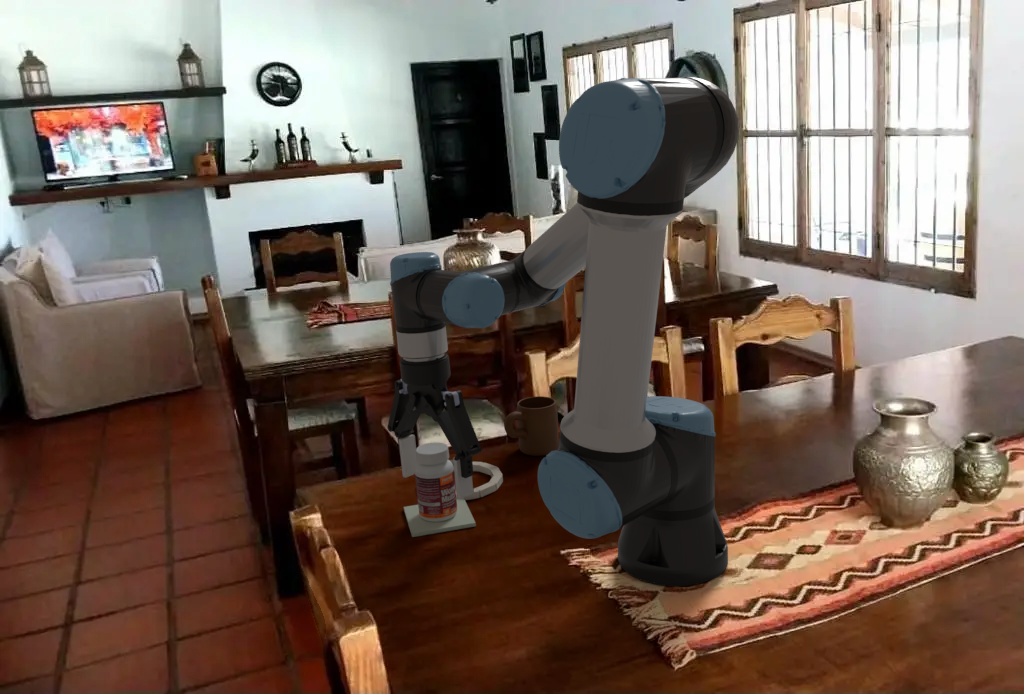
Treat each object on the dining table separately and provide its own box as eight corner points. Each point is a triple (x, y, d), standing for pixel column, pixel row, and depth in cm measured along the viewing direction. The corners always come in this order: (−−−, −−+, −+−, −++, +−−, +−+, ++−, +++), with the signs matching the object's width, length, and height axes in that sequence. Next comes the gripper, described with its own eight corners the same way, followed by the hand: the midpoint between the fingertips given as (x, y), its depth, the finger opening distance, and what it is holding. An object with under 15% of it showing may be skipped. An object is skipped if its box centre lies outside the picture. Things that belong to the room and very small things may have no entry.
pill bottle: (450, 524, 135) (444, 456, 132) (413, 522, 136) (406, 455, 134) (462, 506, 141) (456, 441, 138) (426, 505, 142) (420, 440, 139)
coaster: (475, 526, 135) (475, 522, 135) (412, 537, 133) (411, 533, 133) (463, 500, 144) (463, 497, 144) (403, 510, 142) (403, 506, 142)
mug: (522, 467, 156) (519, 418, 154) (493, 457, 162) (490, 410, 159) (567, 447, 164) (565, 400, 162) (538, 439, 170) (536, 393, 167)
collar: (510, 492, 146) (509, 483, 146) (428, 506, 143) (427, 496, 143) (491, 462, 159) (491, 453, 159) (416, 474, 156) (415, 465, 156)
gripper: (497, 360, 125) (508, 496, 131) (394, 339, 143) (407, 459, 148) (458, 373, 120) (471, 514, 126) (356, 349, 138) (371, 473, 143)
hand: (437, 484), depth 137 cm, fingers open, 13 cm apart
